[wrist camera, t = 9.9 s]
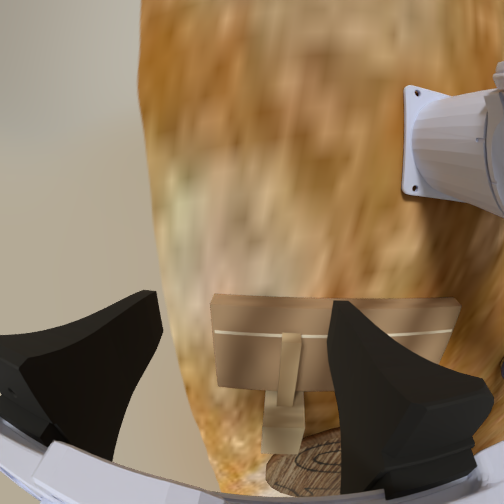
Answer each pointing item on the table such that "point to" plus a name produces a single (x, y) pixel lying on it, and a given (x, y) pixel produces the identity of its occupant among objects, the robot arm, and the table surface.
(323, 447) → the trivet
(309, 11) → the table surface
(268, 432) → the beige block with handle
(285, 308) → the board
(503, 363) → the rubber mallet
